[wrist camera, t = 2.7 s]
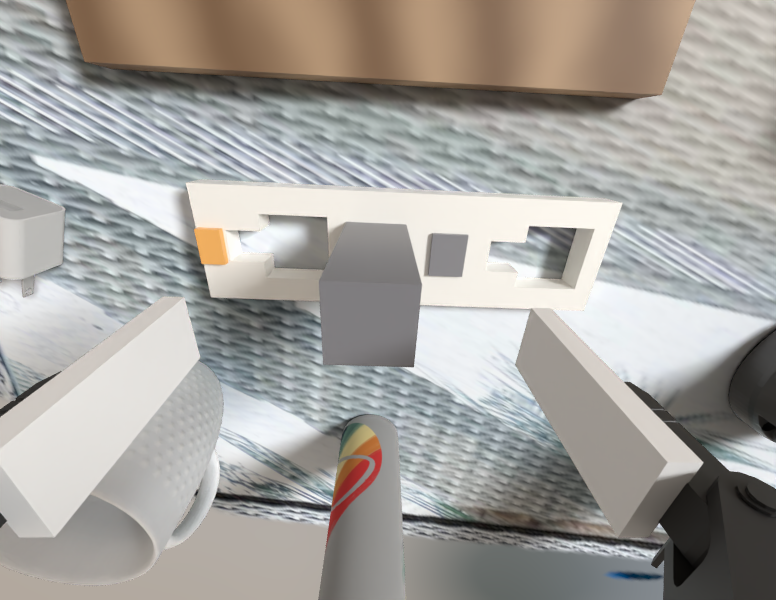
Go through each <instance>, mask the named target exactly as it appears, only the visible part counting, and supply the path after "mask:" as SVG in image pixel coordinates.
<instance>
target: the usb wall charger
mask: <svg viewBox="0 0 776 600" xmlns="http://www.w3.org/2000/svg"><path fill="white" fill-rule="evenodd" d="M64 225H65V208H64V207H63V206H60V205H58V204H55V203H53V202H50V201H48V200H45V199H43V198H41V197H38V196H36V195H33V194H31V193H28V192H26V191H23V190H21V189H19V188H16V187H13V186H8V185H0V283H1V282H2V278H4V279H10V280H19V279H22V295H23V297H26V296H29V295H31V294H33V289H34V275H35V274H38V273H40V272H43V271H45V270H48V269H51V268H53V267H56V266H58V265H61V264H62V263H63V245H64ZM29 288H30V291H29V292H28V293H26V291H27V290H28V289H29Z"/></svg>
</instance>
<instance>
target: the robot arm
mask: <svg viewBox="0 0 776 600" xmlns="http://www.w3.org/2000/svg"><path fill="white" fill-rule="evenodd" d="M199 359H200V354H199V350H198V347H197V343H196V339H195V335H194V332H193V328H192V324H191V320H190V317H189V313H188V309H187V306H186V302H185V298H184V297H162V298H160V299H159V300H158V301H156V302H155V303H154V304H152V305H151V306H150V307H148V308H147V309H146V310H144V311H143V312H142V313H140V314H139V315H138V316H136V317H135V318H133V319H132V320H131V321H129V322H128V323H127V324H125V325H124V326H123V327H121V328H120V329H119V330H117V331H116V332H115V333H113V334H112V335H111V336H109V337H108V338H106V339H105V340H104V341H102V342H101V343H100V344H98V345H97V346H96V347H94V348H93V349H92V350H90V351H89V352H88V353H86V354H85V355H84V356H82V357H81V358H79V359H78V360H77V361H75V362H74V363H73V364H71V365H70V366H69V367H67V368H66V369H65V370H63V371H61V372H59V373H57V374H55V375H52V376H50V377H48V378H46V379H44V380H42V381H40V382H38V383H36V384H35V385H34V386H32V387H31V388H29V389H28V390H27V391H25V392H24V393H22V394H21V395H20V396H18V397H17V398H16V401H11V402H10V403H9V404H7V405H6V406H4V407H3V408H2V409H0V528H1V527H2V526H3V525H4V524H5V523H6V522H7V524H8V525H9V526H10V527H11V528H12V529H13V531H14V532H15V533H16V534H17V535H18V537H55V536H56V535H57V534H58V533H59V531H60V530H61V529H62V528H63V527H64V525H65V524H66V523H67V522H68V520H69V519H70V518H71V517H72V515H73V514H74V513H75V512H76V510H77V509H78V508H79V507H80V506H81V504H82V503H83V502H84V501H85V499H86V498H87V497H88V496H89V494H90V493H91V492H92V491H93V489H94V488H95V487H96V486H97V485H98V483H99V482H100V481H101V480H102V478H103V477H104V476H105V475H106V473H107V472H108V471H109V470H110V469H111V467H112V466H113V465H114V464H115V462H116V461H117V460H118V459H119V457H120V456H121V455H122V454H123V452H124V451H125V450H126V449H127V448H128V446H129V445H130V444H131V443H132V441H133V440H134V439H135V438H136V436H137V435H138V434H139V433H140V431H141V430H142V429H143V428H144V427H145V425H146V424H147V423H148V422H149V420H150V419H151V418H152V417H153V415H154V414H155V413H156V412H157V410H158V409H159V408H160V407H161V406H162V404H163V403H164V402H165V401H166V399H167V398H168V397H169V396H170V394H171V393H172V392H173V391H174V389H175V388H176V387H177V386H178V385H179V383H180V382H181V381H182V380H183V378H184V377H185V376H186V375H187V373H188V372H189V371H190V370H191V368H192V367H193V366H194V365H195V364H196V362H197V361H198V360H199ZM515 365H516V367H517V368H518V370H519V372H520V373H521V375H522V377H523V379H524V380H525V382H526V384H527V385H528V387H529V389H530V390H531V392H532V394H533V395H534V397H535V399H536V400H537V402H538V404H539V406H540V407H541V409H542V411H543V412H544V414H545V416H546V417H547V419H548V421H549V422H550V424H551V426H552V427H553V429H554V431H555V432H556V434H557V436H558V438H559V439H560V441H561V443H562V444H563V446H564V448H565V449H566V451H567V453H568V454H569V456H570V458H571V459H572V461H573V463H574V465H575V466H576V468H577V470H578V471H579V473H580V475H581V476H582V478H583V480H584V481H585V483H586V485H587V486H588V488H589V490H590V492H591V493H592V495H593V497H594V498H595V500H596V502H597V503H598V505H599V507H600V508H601V510H602V512H603V513H604V515H605V517H606V518H607V520H608V522H609V524H610V525H611V527H612V529H613V530H614V532H615V534H616V535H617V537H618V538H648V537H649V536H650V535H651V533H652V532H653V531H654V529H655V528H656V527H657V525H658V524H659V523H660V524H661V525H662V527H663V528H664V530H665V531H666V532H667V534H668V535H669V537H670V538H669V539H668V540H667V542H666V543H665V544H664V545H663V547H662V548H661V549H660V550H659V552H658V553H657V554H656V555H655V557H654V558H653V561H652V563H651V565H652V566H654V567H655V568H657V567H658V566H659V565H660V564H661V562H662V561H664V592H663V600H776V489H775V488H773V487H772V486H770V485H768V484H766V483H764V482H762V481H761V480H759V479H757V478H754V477H752V476H749V475H746V474H743V473H740V472H731V471H729V470H727V469H726V468H725V467H724V466H723V465H722V464H721V463H720V462H719V461H718V460H717V459H716V458H715V457H714V456H713V455H712V454H711V453H710V452H709V451H708V450H707V449H706V448H705V447H703V446H702V445H701V444H700V443H699V442H698V441H697V440H696V439H695V438H694V437H693V436H692V435H691V434H690V433H689V432H688V431H687V430H686V429H685V428H684V427H683V426H682V425H681V424H680V423H676V420H675V419H674V418H673V417H672V416H671V415H670V414H669V413H668V412H667V411H664V408H663V407H662V406H661V405H660V404H659V403H658V402H657V401H656V400H654V399H653V398H652V397H651V396H650V395H649V394H648V393H646V392H645V391H643V390H642V389H640V388H638V387H637V386H635V385H634V384H632V383H631V382H623V381H622V380H621V379H620V378H619V377H618V376H617V375H616V374H615V373H614V372H613V371H612V370H611V369H610V368H609V367H608V366H607V365H606V364H605V363H604V362H603V361H602V360H601V359H600V358H599V357H598V356H597V355H596V354H595V353H594V352H593V351H592V350H591V349H590V348H589V347H588V346H587V345H586V344H585V343H584V342H583V341H582V340H581V339H580V338H579V337H578V335H577V334H576V333H575V332H574V331H573V330H572V329H571V328H570V327H569V326H568V325H567V324H566V323H565V322H564V321H563V320H562V319H561V318H560V317H559V316H558V315H557V314H556V313H555V312H554V311H553V310H552V309H551V308H531V311H530V314H529V318H528V321H527V325H526V328H525V332H524V336H523V339H522V343H521V346H520V350H519V353H518V357H517V360H516V364H515ZM729 402H730V406H731V408H732V410H733V412H734V413H735V414H736V415H737V416H738V417H739V418H740V419H741V420H742V421H744V422H745V423H746V424H748V425H749V426H750V427H751V428H753V429H754V430H755V431H757V432H758V433H759V434H761V435H762V436H764V437H766V438H767V439H769V440H771V441H773V442H775V443H776V331H774V332H773V333H772V334H770V335H769V336H768V337H767V338H765V339H764V340H763V341H762V342H761V343H760V344H759V345H757V346H756V347H755V348H754V349H753V350H752V352H751V353H750V354H749V355H748V356H747V357H746V358H745V360H744V361H743V362H742V364H741V365H740V367H739V368H738V370H737V372H736V373H735V375H734V378H733V380H732V383H731V386H730V391H729Z"/></svg>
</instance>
